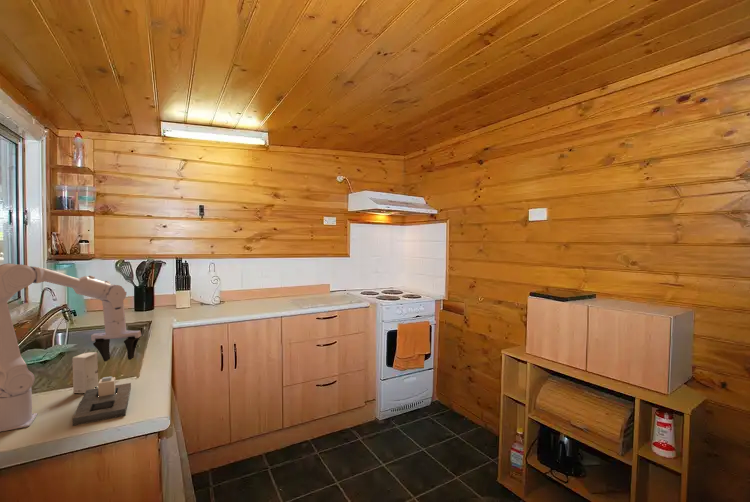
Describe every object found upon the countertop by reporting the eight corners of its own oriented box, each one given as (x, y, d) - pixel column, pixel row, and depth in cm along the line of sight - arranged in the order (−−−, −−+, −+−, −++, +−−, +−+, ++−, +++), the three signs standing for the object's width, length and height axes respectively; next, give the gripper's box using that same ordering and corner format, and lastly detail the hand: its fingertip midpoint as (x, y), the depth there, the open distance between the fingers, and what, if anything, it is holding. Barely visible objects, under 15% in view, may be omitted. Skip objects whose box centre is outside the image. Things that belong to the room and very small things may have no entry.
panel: (72, 425, 101) (72, 418, 101) (86, 396, 120) (86, 390, 120) (125, 415, 107) (125, 408, 107) (130, 388, 126) (130, 382, 126)
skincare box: (86, 393, 121) (85, 357, 121) (72, 394, 121) (71, 357, 121) (99, 386, 127) (98, 351, 127) (85, 386, 127) (85, 352, 127)
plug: (98, 402, 115) (98, 380, 115) (100, 397, 119) (100, 376, 118) (114, 399, 117) (113, 378, 117) (115, 395, 121) (115, 374, 120)
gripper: (144, 315, 127) (147, 353, 129) (99, 318, 126) (103, 356, 127) (133, 321, 120) (137, 361, 122) (85, 324, 119) (90, 364, 120)
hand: (119, 359), depth 124 cm, fingers open, 7 cm apart
